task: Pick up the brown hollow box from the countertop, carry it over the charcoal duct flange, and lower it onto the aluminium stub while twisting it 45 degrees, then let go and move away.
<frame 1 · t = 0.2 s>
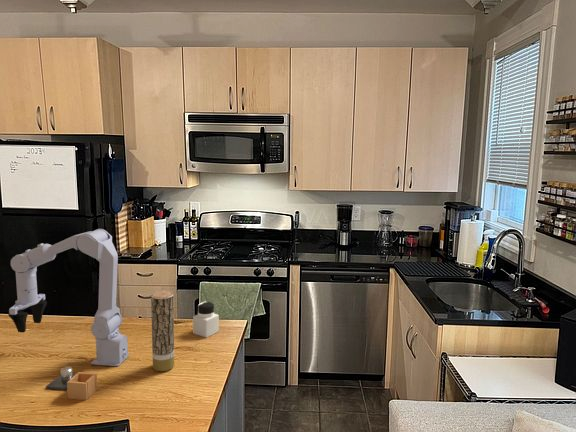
hand: (29, 327, 143), 10 cm above the worktop, tool pointing down, fingers open, 7 cm apart
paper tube: (163, 367, 139), on the worktop
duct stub: (67, 382, 128), on the worktop
medicine bottle: (206, 333, 166), on the worktop
brown hollow box: (82, 393, 122), on the worktop
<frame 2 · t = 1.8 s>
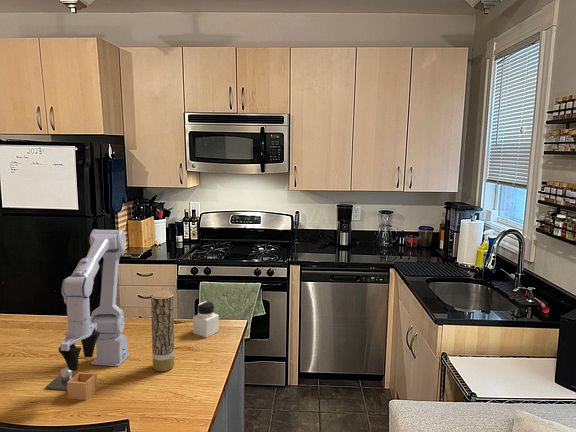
hand: (81, 363, 121), 9 cm above the worktop, tool pointing down, fingers open, 7 cm apart
nothing on the worktop moved.
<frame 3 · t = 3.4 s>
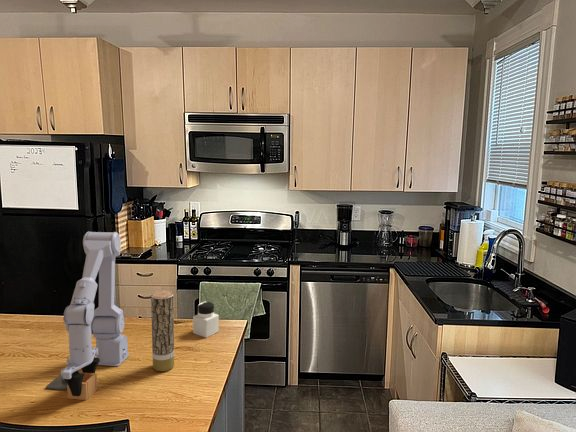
hand: (82, 389, 122), 1 cm above the worktop, tool pointing down, fingers closed on brown hollow box, 6 cm apart
brown hollow box: (82, 393, 122), on the worktop, touching gripper
everything else where it was.
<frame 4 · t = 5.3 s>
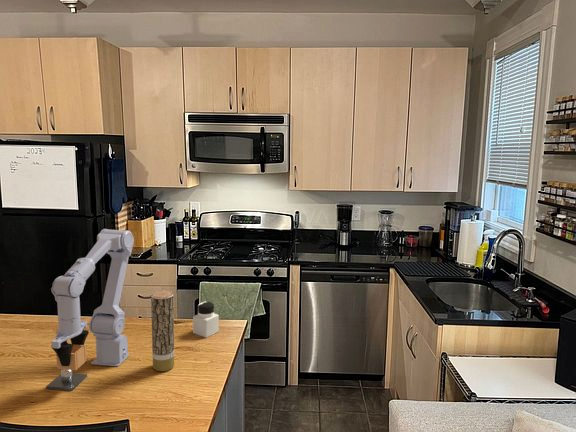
hand: (71, 360, 125), 8 cm above the worktop, tool pointing down, fingers closed on brown hollow box, 6 cm apart
brown hollow box: (72, 364, 125), point 7 cm above the worktop, touching gripper
everything else where it was.
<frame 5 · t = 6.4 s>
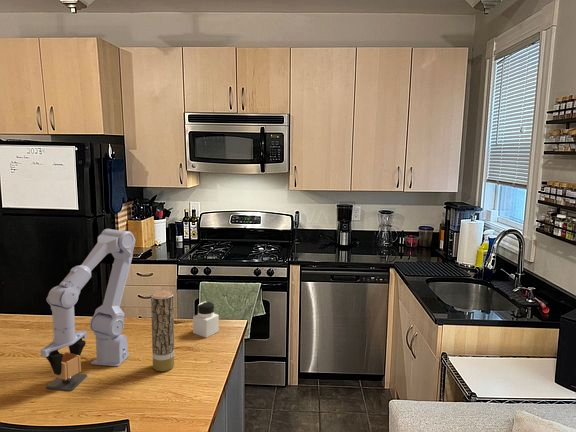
hand: (66, 369, 127), 4 cm above the worktop, tool pointing down, fingers closed on brown hollow box, 6 cm apart
brown hollow box: (66, 373, 127), point 3 cm above the worktop, touching gripper
everything else where it was.
when the fingers open (3 cm above the worktop, at t = 7.3 s): brown hollow box stays where it is, resting on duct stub.
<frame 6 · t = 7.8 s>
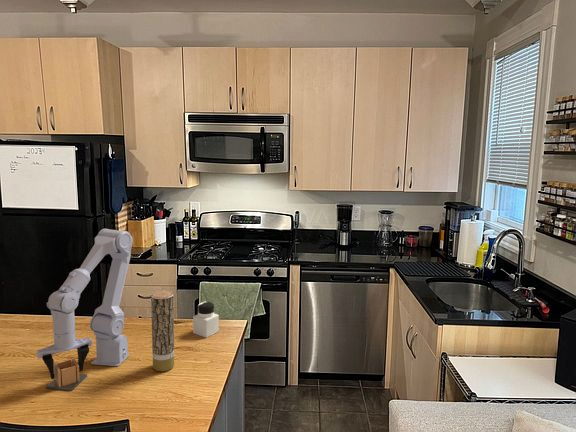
hand: (66, 373, 128), 3 cm above the worktop, tool pointing down, fingers open, 7 cm apart
brown hollow box: (67, 380, 128), point 1 cm above the worktop, touching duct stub
everything else where it was.
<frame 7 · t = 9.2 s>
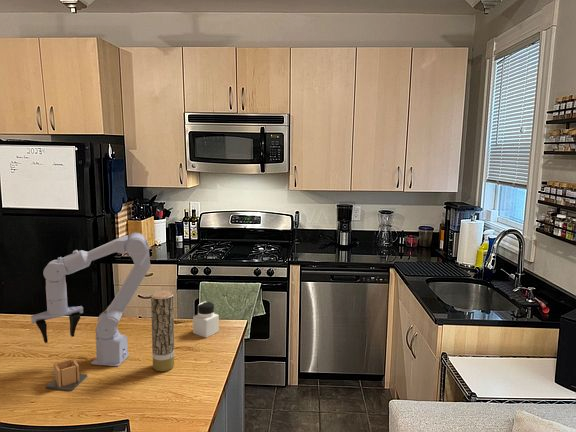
hand: (59, 338, 136), 9 cm above the worktop, tool pointing down, fingers open, 7 cm apart
nothing on the worktop moved.
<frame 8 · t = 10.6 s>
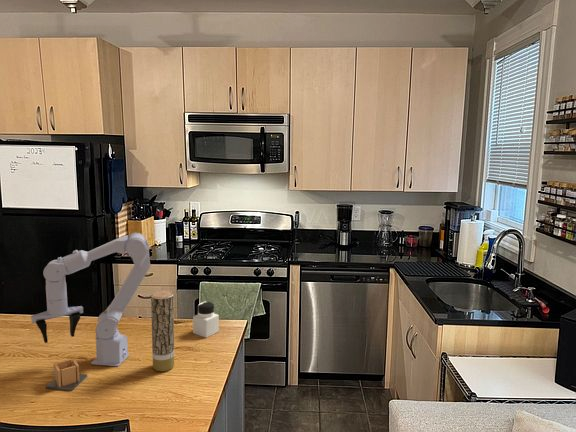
hand: (59, 338, 136), 9 cm above the worktop, tool pointing down, fingers open, 7 cm apart
nothing on the worktop moved.
at the end: brown hollow box 0.0 cm off-centre on the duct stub, point 0.8 cm above the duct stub's base; brown hollow box tilted 0°; the gripper is holding nothing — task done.
